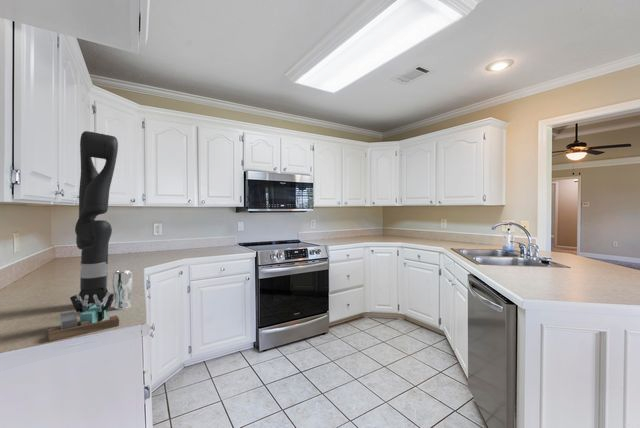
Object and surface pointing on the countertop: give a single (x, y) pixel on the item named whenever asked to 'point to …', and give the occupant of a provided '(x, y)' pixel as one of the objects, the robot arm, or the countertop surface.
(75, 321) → the charcoal plug
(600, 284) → the countertop surface
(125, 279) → the beer glass
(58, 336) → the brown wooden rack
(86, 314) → the teal plug
